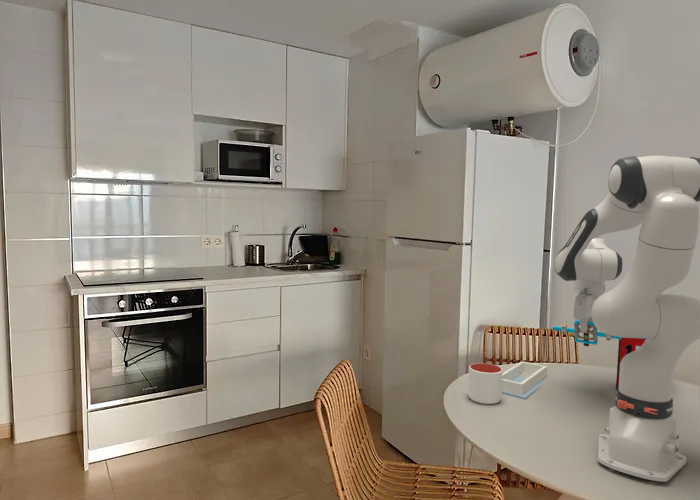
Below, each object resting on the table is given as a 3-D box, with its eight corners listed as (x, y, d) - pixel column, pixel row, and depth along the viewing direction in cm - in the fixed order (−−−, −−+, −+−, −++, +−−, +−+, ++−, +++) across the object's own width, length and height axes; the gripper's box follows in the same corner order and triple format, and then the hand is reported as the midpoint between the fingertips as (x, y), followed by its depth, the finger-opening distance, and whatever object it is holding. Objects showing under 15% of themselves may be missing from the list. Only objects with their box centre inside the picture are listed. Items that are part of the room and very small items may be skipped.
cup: (467, 403, 149) (469, 371, 148) (468, 392, 158) (469, 361, 158) (502, 407, 146) (503, 374, 146) (500, 395, 156) (501, 364, 155)
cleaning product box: (647, 400, 154) (651, 338, 153) (615, 393, 160) (619, 333, 159) (656, 387, 167) (660, 329, 165) (626, 381, 173) (630, 325, 171)
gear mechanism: (553, 343, 164) (552, 318, 161) (556, 334, 168) (555, 310, 165) (620, 353, 153) (621, 327, 150) (622, 344, 157) (623, 318, 154)
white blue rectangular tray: (525, 400, 152) (526, 386, 152) (488, 391, 160) (488, 377, 159) (551, 379, 173) (552, 366, 173) (518, 371, 181) (518, 359, 180)
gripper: (591, 291, 147) (589, 337, 148) (606, 285, 163) (604, 326, 164) (569, 289, 151) (567, 333, 152) (585, 283, 167) (583, 323, 168)
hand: (586, 329), depth 158 cm, fingers closed on gear mechanism, 5 cm apart
